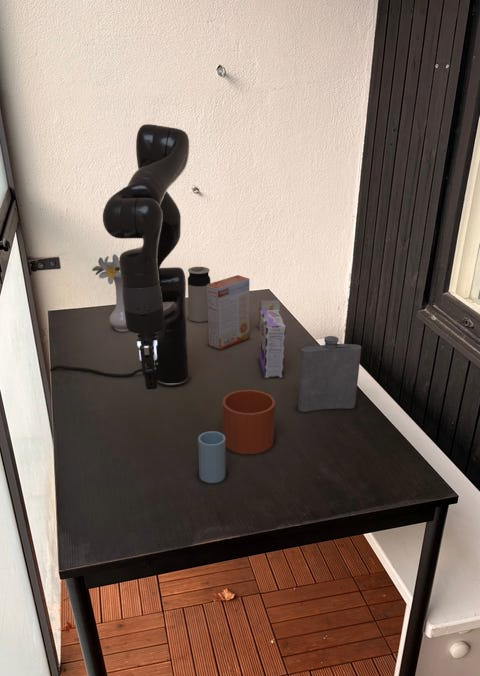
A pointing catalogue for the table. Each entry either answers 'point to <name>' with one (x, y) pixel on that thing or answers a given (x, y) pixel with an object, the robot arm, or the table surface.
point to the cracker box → (228, 311)
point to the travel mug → (198, 293)
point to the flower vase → (113, 273)
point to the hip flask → (328, 376)
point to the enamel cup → (212, 456)
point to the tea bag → (268, 306)
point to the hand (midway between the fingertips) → (152, 379)
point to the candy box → (272, 343)
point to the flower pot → (248, 421)
